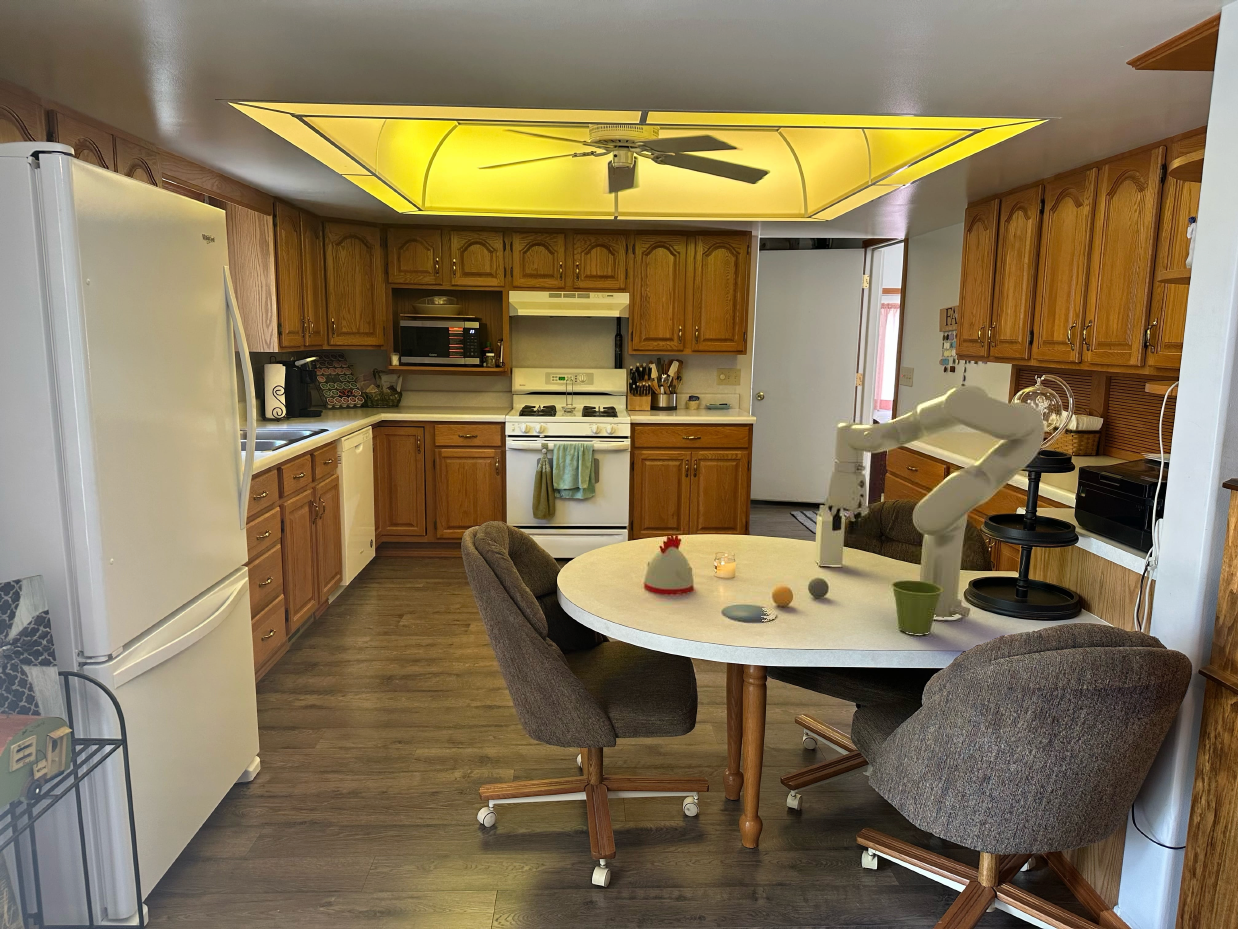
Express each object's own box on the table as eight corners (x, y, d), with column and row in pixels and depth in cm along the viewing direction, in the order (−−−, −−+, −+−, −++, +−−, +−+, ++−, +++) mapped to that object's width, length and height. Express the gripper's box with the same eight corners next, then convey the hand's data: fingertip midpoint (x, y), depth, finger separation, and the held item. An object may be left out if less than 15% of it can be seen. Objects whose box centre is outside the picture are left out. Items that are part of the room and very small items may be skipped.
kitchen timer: (703, 588, 234) (705, 536, 232) (670, 598, 225) (672, 544, 223) (667, 578, 244) (668, 528, 242) (634, 586, 235) (635, 534, 232)
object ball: (797, 607, 219) (798, 586, 218) (782, 610, 216) (783, 590, 215) (781, 601, 224) (782, 581, 223) (767, 604, 220) (768, 584, 220)
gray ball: (832, 598, 227) (833, 579, 227) (818, 601, 224) (819, 582, 223) (816, 593, 232) (817, 574, 231) (803, 596, 229) (804, 577, 228)
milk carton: (842, 568, 259) (845, 508, 257) (819, 567, 259) (822, 507, 257) (836, 562, 266) (840, 503, 264) (814, 561, 267) (817, 503, 264)
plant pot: (927, 623, 209) (931, 579, 207) (947, 640, 197) (951, 594, 195) (881, 623, 208) (884, 579, 206) (898, 639, 196) (901, 593, 195)
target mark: (788, 616, 211) (788, 615, 211) (748, 626, 203) (748, 625, 203) (749, 602, 223) (749, 601, 223) (710, 610, 214) (710, 610, 214)
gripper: (882, 470, 224) (878, 537, 226) (833, 462, 237) (829, 525, 240) (865, 472, 219) (860, 540, 222) (815, 464, 233) (811, 528, 236)
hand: (844, 531), depth 231 cm, fingers open, 4 cm apart
